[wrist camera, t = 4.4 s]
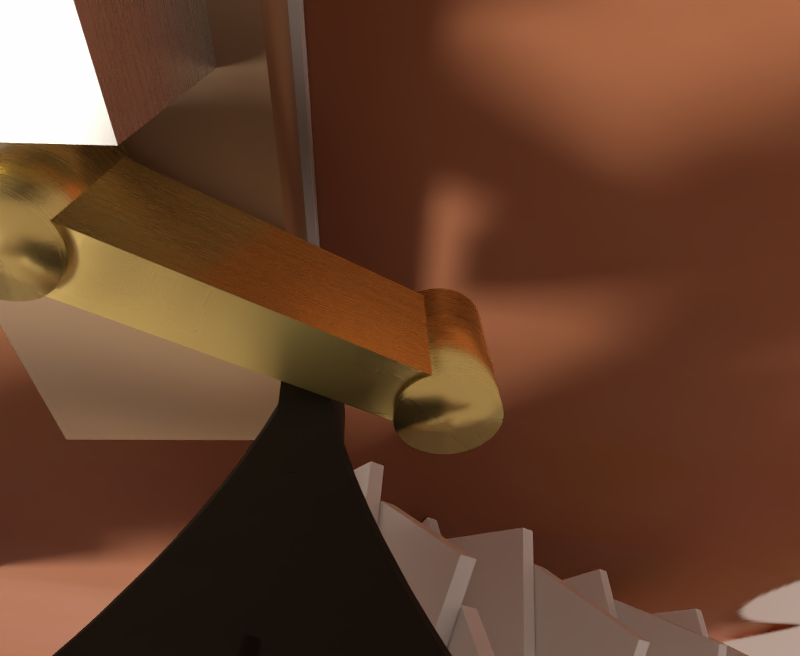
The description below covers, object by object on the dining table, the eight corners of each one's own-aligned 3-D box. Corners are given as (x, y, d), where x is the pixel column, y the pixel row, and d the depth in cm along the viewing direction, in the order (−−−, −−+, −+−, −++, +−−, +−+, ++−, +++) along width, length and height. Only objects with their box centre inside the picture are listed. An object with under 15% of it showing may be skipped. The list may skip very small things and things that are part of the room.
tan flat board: (328, 368, 15) (318, 447, 13) (113, 366, 15) (62, 447, 13) (258, -655, 6) (169, -1087, 3) (-351, -718, 5) (-939, -1243, 3)
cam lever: (497, 310, 10) (526, 403, 8) (448, 369, 11) (463, 465, 9) (37, 90, 7) (-92, 148, 5) (25, 194, 8) (-88, 275, 6)
